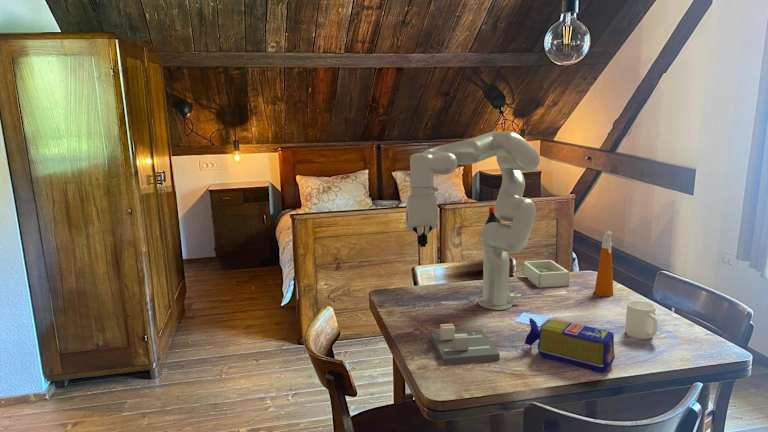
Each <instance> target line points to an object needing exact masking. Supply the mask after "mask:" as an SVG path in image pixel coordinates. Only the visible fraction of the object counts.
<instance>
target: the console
mask: <svg viewBox="0 0 768 432" xmlns="http://www.w3.org/2000/svg"><path fill="white" fill-rule="evenodd" d="M464 333H466V334H467V335H468V337H469V350H460V351H455V349H454V347H453V339H451V340H442V339H441V337H440V331H439V332H431V333H430V339H431V342H432V343H433V346H434V348H435V350H436V352H437V354H438V356H439V358H440V360H441V362H442V364H443V365H454V364H455V365H456V364H467V363H481V362H490V361H491V362H493V361H494V362H495V361H500V360H501V358H500V357H501V354H500V352H499V351H498V349H497V348H496V347H495V345H494V344H493V343H492V341H491V340H490V338H489V337H488V336H487V335H486V334H485V332H484V330H483V329H470V330H469V329H468V330H455V334H464Z"/></svg>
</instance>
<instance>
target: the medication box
mask: <svg viewBox="0 0 768 432" xmlns="http://www.w3.org/2000/svg"><path fill="white" fill-rule="evenodd" d="M535 269H536V270H537V271H539V272H540V273H547V272H553V271H549V270H545V269H541V268H538V267H537V268H535Z"/></svg>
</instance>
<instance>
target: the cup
mask: <svg viewBox="0 0 768 432" xmlns="http://www.w3.org/2000/svg"><path fill="white" fill-rule="evenodd" d="M625 313H626V314H625V315H626V316H625V328H624V330H625V331H624V332H625V334H626V335H627V336H629V337H630V338H633V339H636V338H637V340H650V339H651V338H652V337H655V336H656V335H657V332H658V327H659V326H658V320H657V317H656V305H655V304H654V303H651V302H649V301H645V300H629V301H628V302H627V303H626V312H625ZM649 338H650V339H649Z"/></svg>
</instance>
